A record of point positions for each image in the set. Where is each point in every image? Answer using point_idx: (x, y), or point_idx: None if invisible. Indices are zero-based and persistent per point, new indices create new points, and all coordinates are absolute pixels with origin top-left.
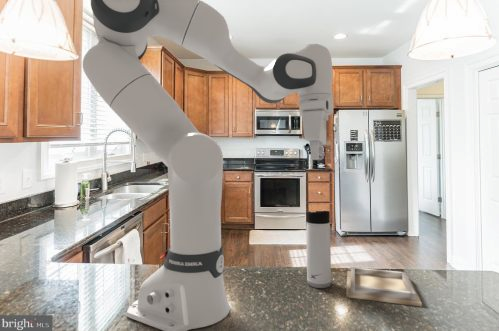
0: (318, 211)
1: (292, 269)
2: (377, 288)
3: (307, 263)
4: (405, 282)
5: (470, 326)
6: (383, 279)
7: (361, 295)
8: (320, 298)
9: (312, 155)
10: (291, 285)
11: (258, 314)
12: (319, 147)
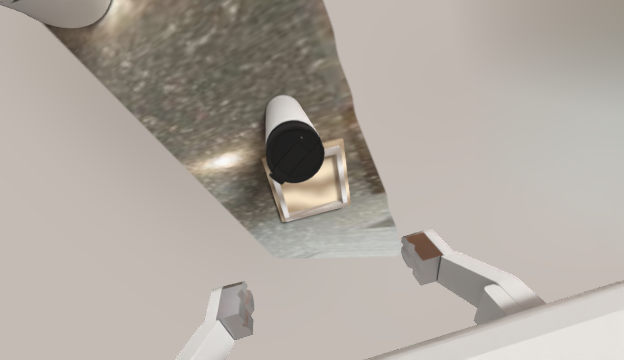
0: (320, 147)
1: (322, 45)
2: (279, 191)
3: (272, 105)
4: (317, 209)
5: (265, 248)
6: (329, 184)
7: (267, 174)
8: (238, 131)
9: (211, 311)
10: (254, 75)
11: (132, 72)
12: (478, 307)
